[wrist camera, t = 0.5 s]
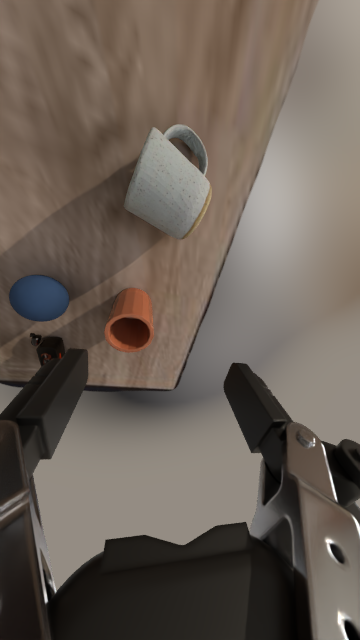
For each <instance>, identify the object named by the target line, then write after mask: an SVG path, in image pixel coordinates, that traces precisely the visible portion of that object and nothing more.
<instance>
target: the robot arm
mask: <svg viewBox="0 0 360 640" xmlns="http://www.w3.org/2000/svg"><path fill="white" fill-rule="evenodd" d="M87 379H88V351H87V350H84V349H72V348H70V349H68V350H67V352H66V353H65V354H64V356H63V357H62V358H54V359H52V360H51V361H49V362H47V363H46V364H44V365H43V366H42V367H41V368H40V369H39V371H38V372H37V373H36V374H35V376H33V377H32V379H31V380H30V381H29V382H28V384H26V385H25V387H24V388H23V389H22V390H21V391H20V392H19V394H18V395H17V396H16V397H15V398H14V399H13V400H12V402H11V403H10V404H9V405H8V406H7V407H6V408H5V410H4V411H3V412H2V413H1V414H0V640H360V508H359V507H358V505H357V504H356V503H355V501H356V500H358V499H359V498H360V444H358V443H356V442H354V441H351V440H348V439H344V440H342V441H341V442H340V443H339V444H338V445H337V446H335V445H333V444H329V443H327V442H324V441H321V440H320V439H319V438H318V437H317V436H316V435H315V434H314V433H313V432H312V431H311V430H310V429H308V428H307V427H306V426H304V425H302V424H299V423H297V422H293V421H292V420H291V418H290V417H289V415H288V414H287V413H286V411H285V410H284V409H283V407H282V406H281V404H280V403H279V402H278V400H277V399H276V398H275V396H273V394H272V392H271V391H270V390H269V389H268V387H267V386H266V384H265V383H264V381H263V380H262V379H261V378H260V377H258V376H257V375H256V374H255V373H253V372H252V370H251V369H250V368H249V366H248V365H247V364H243V363H232V365H231V367H230V369H229V372H228V374H227V376H226V379H225V381H224V392H225V394H226V397H227V399H228V401H229V403H230V405H231V408H232V410H233V412H234V414H235V417H236V419H237V421H238V424H239V426H240V428H241V431H242V433H243V435H244V437H245V440H246V442H247V444H248V446H249V449H250V451H251V453H261V454H262V456H263V459H262V461H261V467H260V478H259V490H258V500H257V508H256V512H255V515H254V518H253V520H252V523H251V527H250V532H249V530H248V527H247V524H246V522H243V523H234V524H226V525H218V526H215V527H213V528H212V529H210V530H209V531H207V532H205V533H203V534H202V535H200V536H199V537H197V538H196V539H194V540H193V541H191V542H189V543H187V544H186V545H178V544H174V543H171V542H167V541H164V540H160V539H157V538H153V537H150V536H147V535H140V536H133V537H124V538H117V539H109V540H106V541H105V548H104V551H103V552H101V553H100V554H98V555H96V556H94V557H93V558H91V559H90V560H89V561H87V562H86V563H84V564H83V565H82V566H81V567H80V568H79V569H78V570H76V571H75V572H74V573H73V574H72V575H71V576H70V577H69V578H68V579H67V580H66V582H65V583H64V584H63V585H62V586H61V587H60V588H59V589H58V590H57V592H56V589H55V584H54V579H53V574H52V568H51V563H50V558H49V553H48V549H47V544H46V541H45V536H44V531H43V526H42V521H41V516H40V510H39V505H38V500H37V494H36V489H35V484H34V478H33V472H34V470H35V468H36V466H37V464H38V462H39V460H40V459H51V458H52V456H53V454H54V451H55V449H56V447H57V445H58V443H59V441H60V439H61V436H62V434H63V432H64V430H65V428H66V425H67V424H68V422H69V419H70V417H71V415H72V413H73V411H74V409H75V407H76V405H77V402H78V400H79V398H80V396H81V394H82V392H83V390H84V388H85V385H86V383H87Z"/></svg>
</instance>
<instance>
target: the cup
mask: <svg viewBox="0 0 360 640" xmlns="http://www.w3.org/2000/svg"><path fill="white" fill-rule="evenodd" d="M104 334H105V338H106V341H107V342H108V343H109V344H110V345H111V346H112V347H113V348H115V349H117V350H119V351H123V352H137V351H140V350H142V349H145V348H146V347H147V346H148V345H149V344H150V343H151V341H152V339H153V337H154V331H153V317H152V303H151V300H150V298H149V296H148V295H147V294H146V293H145V292H144V291H142V290H140V289H136V288H128V289H125V290H123V291H121V292H120V293H119V294H118V295H117V297H116V299H115V302H114V305H113V307H112V310H111V313H110V316H109V318H108V321H107V324H106V327H105V331H104Z"/></svg>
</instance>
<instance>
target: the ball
mask: <svg viewBox="0 0 360 640" xmlns="http://www.w3.org/2000/svg"><path fill="white" fill-rule="evenodd" d="M9 300H10V303H11V305H12V307H13V309H14V310H15V311H16V312H17V313H18V314H20V315H21V316H23V317H25V318H27V319H29V320H33V321H50V320H53V319H56V318H58V317H59V316H61V315H62V314H63V313H64V312H65V311H66V309H67V307H68V304H69V296H68V293H67V291H66V289H65V287H64V286H63V285H62V284H61V283H60V282H58V281H57V280H55V279H53V278H51V277H48V276H44V275H30V276H26V277H23V278H21V279H19V280H18V281H17V282H15V284H14V285H13V286H12V288H11V290H10V293H9Z"/></svg>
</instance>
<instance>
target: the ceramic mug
mask: <svg viewBox="0 0 360 640" xmlns="http://www.w3.org/2000/svg"><path fill="white" fill-rule="evenodd" d="M171 138H179V139H181V140H183V141H184V142H185V143H186V144H187V145H188V147H189V148H190V149H191V150H192V151H193V153H194V155H195V156H196V157H197V158H198V161H199V170H198V169H197V168H196V167H195V166H194V165H193V164H192V163H190V162H189V161H188V160H187V159H186V158H185V156H184V155H183V154H182V153H181V152H180V151H179V150H178V149H177V148H176V147H175V146H174V145H173V144H172V143H171V142H170V141H168V140H169V139H171ZM206 170H207V154H206V150H205V147H204V145H203V143H202V141H201V140H200V138H199V137H198V136H197V134H196V133H195V132H194V131H193V130H192V129H190V128H189V127H187V126H185V125H182V124H178V125H174V126H171V127H170V128H169V129H167V130H166V131H165V132H164V134H162V133H161V132H160V131H159V130H157V129H156V128H155V127H153V128H152V129H151V130H150V132H149V134H148V136H147V139H146V141H145V143H144V146H143V149H142V151H141V154H140V157H139V160H138V162H137V166H136V168H135V171H134V174H133V177H132V179H131V182H130V185H129V188H128V191H127V195H126V199H125V203H124V208H125V209H126V210H128V211H129V212H131V213H133V214H134V215H136V216H138V217H140V218H141V219H143V220H145V221H146V222H148V223H149V224H151V225H153V226H155V227H157V228H158V229H160V230H161V231H163V232H165V233H166V234H168V235H170V236H172V237H174V238H177V239H185V238H187V237H188V236H189V235H191V234H192V232H193V231H194V230H195V229H196V227H197V226H198V224H199V223H200V221H201V219H202V218H203V216H204V214H205V212H206V210H207V207H208V205H209V203H210V199H211V192H212V188H211V185H210V183H209V182H208V180H207V179H206V177H205V174H206Z"/></svg>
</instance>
